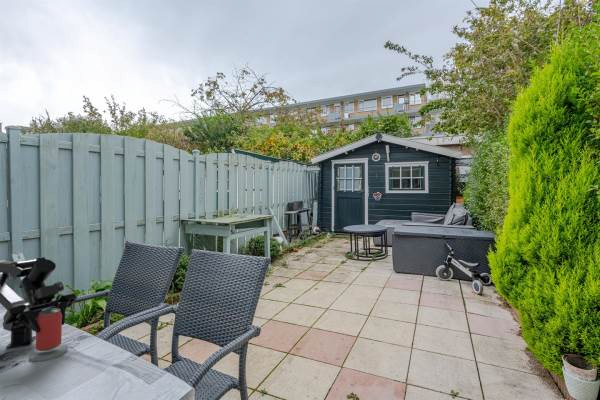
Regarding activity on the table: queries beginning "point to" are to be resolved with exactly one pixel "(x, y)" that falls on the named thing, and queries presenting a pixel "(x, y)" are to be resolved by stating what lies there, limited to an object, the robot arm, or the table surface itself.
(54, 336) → the beer can
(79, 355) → the table surface
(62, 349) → the slate coaster
